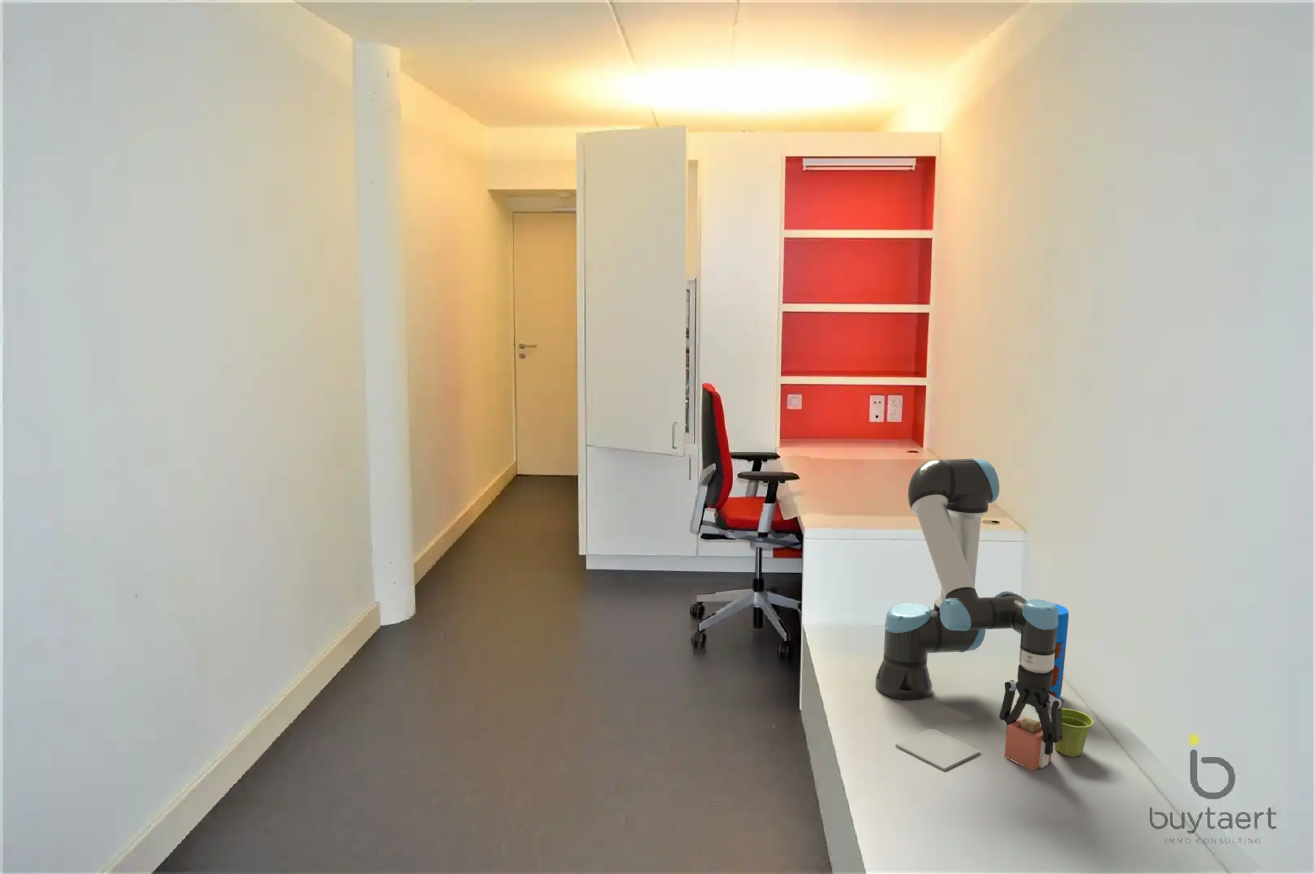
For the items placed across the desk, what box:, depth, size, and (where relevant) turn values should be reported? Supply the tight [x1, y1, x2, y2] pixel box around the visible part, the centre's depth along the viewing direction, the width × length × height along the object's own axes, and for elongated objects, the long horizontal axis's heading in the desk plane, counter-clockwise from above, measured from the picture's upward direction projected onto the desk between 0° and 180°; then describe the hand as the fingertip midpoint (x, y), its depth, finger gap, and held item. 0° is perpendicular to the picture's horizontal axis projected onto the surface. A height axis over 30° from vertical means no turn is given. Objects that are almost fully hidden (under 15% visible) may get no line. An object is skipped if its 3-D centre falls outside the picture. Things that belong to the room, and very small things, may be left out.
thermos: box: [1047, 602, 1070, 705], centre depth 251 cm, size 11×11×25 cm
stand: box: [1021, 717, 1040, 734], centre depth 218 cm, size 4×4×10 cm
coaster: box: [895, 728, 981, 772], centre depth 222 cm, size 14×14×1 cm
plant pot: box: [1054, 708, 1094, 758], centre depth 222 cm, size 9×9×9 cm
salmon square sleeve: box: [1004, 717, 1052, 771], centre depth 218 cm, size 7×7×8 cm
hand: (1027, 758), depth 218 cm, fingers closed on salmon square sleeve, 7 cm apart
